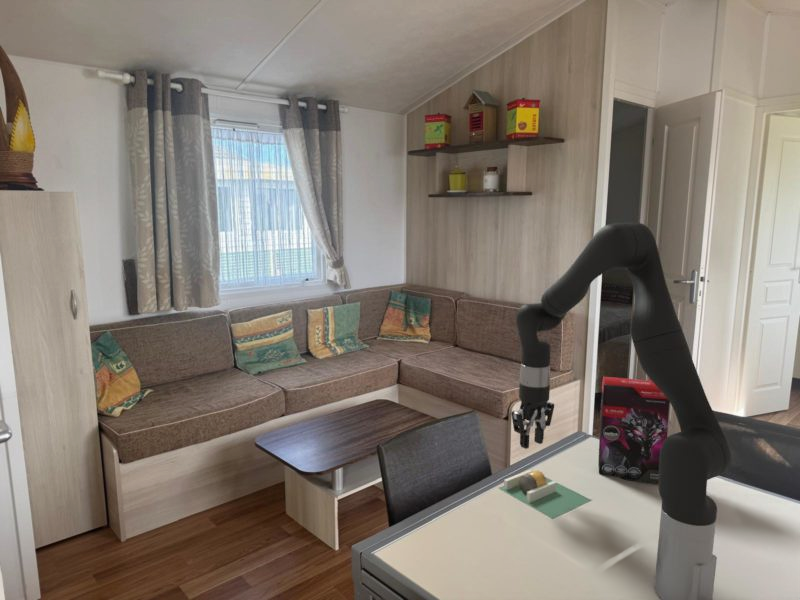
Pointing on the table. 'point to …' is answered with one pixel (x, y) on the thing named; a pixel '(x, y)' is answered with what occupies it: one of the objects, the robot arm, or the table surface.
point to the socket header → (531, 494)
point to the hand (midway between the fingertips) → (531, 444)
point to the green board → (551, 500)
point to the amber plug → (531, 481)
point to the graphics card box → (632, 429)
